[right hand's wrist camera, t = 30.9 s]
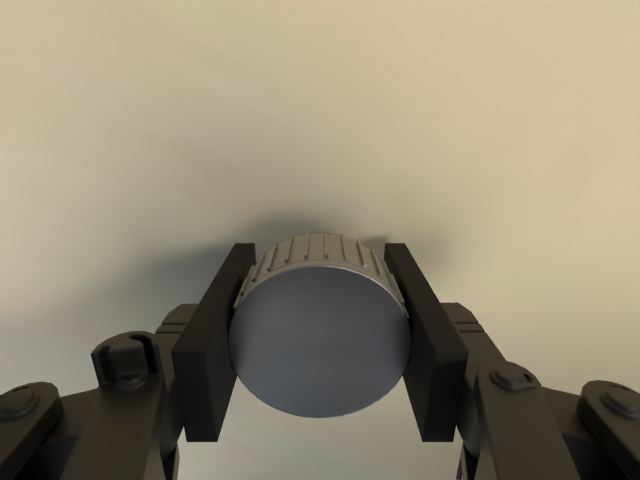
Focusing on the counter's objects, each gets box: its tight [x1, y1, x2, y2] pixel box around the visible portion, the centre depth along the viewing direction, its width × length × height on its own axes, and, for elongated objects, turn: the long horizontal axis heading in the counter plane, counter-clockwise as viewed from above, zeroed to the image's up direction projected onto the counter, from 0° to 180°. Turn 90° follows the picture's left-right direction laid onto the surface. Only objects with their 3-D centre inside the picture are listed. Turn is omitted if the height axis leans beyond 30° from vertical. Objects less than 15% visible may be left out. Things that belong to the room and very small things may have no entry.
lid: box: [228, 232, 412, 418], centre depth 11 cm, size 5×5×2 cm
